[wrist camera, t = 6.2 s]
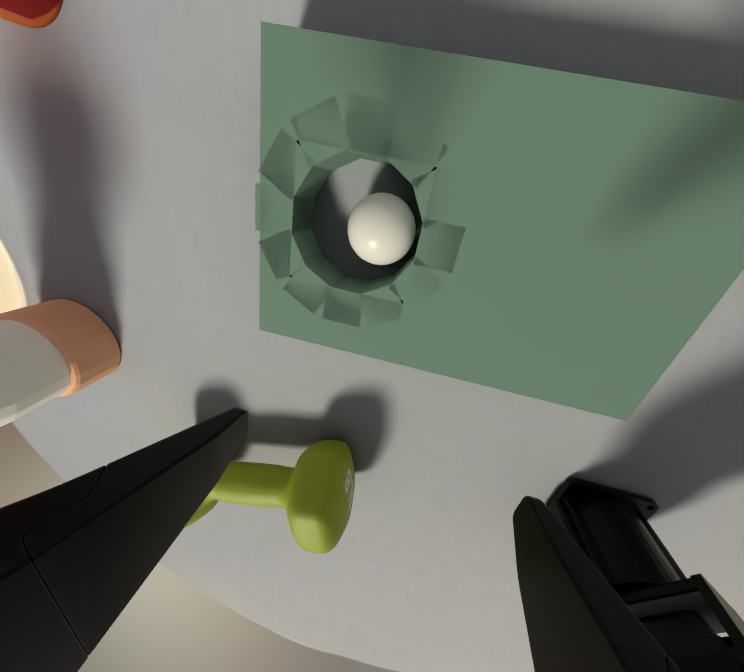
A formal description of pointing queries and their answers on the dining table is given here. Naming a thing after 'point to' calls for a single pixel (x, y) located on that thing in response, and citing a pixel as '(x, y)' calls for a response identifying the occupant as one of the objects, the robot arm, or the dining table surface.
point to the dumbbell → (296, 492)
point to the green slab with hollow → (501, 215)
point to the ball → (381, 228)
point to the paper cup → (30, 11)
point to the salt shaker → (51, 354)
